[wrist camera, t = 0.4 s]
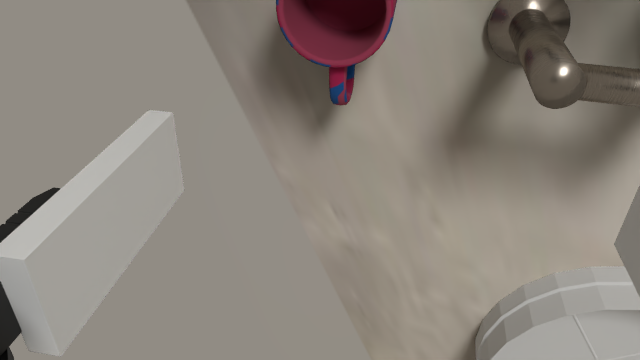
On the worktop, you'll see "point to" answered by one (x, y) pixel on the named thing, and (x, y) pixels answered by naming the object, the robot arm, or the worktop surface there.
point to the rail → (555, 56)
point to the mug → (336, 35)
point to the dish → (565, 319)
